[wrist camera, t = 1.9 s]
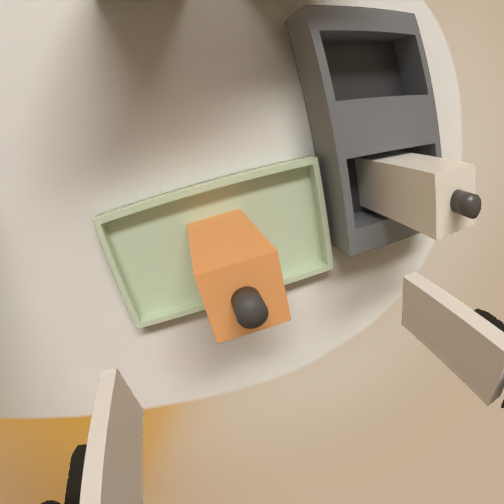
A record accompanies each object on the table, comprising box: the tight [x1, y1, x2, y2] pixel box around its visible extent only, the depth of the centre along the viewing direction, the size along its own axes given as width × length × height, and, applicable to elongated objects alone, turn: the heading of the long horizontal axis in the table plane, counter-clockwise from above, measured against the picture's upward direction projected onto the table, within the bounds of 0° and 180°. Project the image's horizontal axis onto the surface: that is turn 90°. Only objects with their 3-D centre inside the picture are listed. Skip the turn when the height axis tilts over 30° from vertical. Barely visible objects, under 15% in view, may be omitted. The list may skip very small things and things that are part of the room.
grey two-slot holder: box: [285, 5, 442, 257], centre depth 24 cm, size 11×20×4 cm, turn 13°
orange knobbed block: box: [187, 209, 291, 343], centre depth 21 cm, size 4×4×12 cm
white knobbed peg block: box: [354, 150, 481, 240], centre depth 22 cm, size 4×4×12 cm
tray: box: [93, 156, 334, 329], centre depth 26 cm, size 18×10×2 cm, turn 103°
